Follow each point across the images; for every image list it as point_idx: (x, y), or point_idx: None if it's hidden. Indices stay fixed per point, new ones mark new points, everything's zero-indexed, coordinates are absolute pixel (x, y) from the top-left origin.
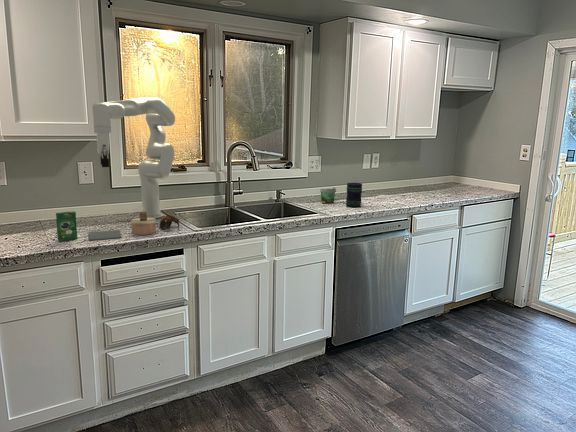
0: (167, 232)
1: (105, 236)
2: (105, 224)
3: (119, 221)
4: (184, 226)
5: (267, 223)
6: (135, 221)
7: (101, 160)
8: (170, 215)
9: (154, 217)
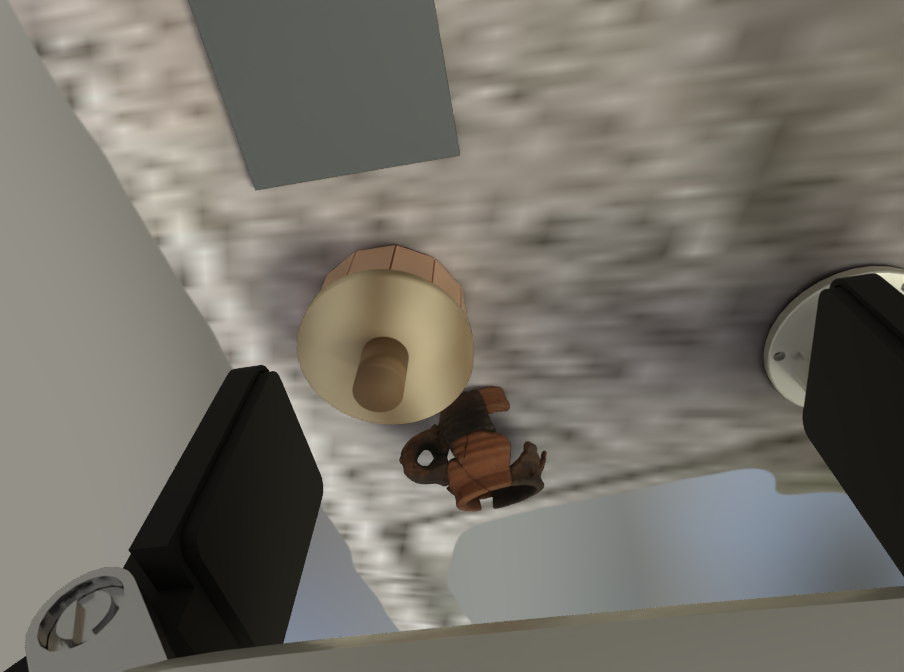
0: None
1: (264, 73)
2: (715, 7)
3: (784, 120)
4: None
5: None
6: (348, 309)
7: (895, 372)
8: (464, 498)
9: (765, 363)
